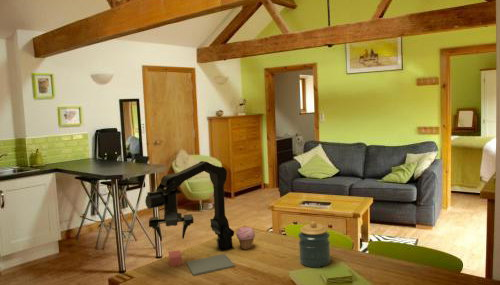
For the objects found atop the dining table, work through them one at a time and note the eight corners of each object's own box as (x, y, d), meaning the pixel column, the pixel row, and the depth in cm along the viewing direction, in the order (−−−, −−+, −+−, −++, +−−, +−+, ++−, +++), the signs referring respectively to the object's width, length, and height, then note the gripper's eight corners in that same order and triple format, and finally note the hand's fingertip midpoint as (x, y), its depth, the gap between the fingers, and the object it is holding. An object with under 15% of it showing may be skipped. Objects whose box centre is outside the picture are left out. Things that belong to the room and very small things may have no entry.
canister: (330, 268, 166) (328, 226, 164) (298, 267, 169) (296, 226, 167) (330, 255, 179) (329, 216, 177) (301, 255, 181) (299, 216, 179)
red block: (180, 258, 187) (179, 250, 187) (182, 265, 180) (181, 256, 179) (169, 260, 186) (168, 251, 186) (170, 267, 178) (169, 258, 178)
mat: (225, 255, 187) (225, 253, 187) (234, 266, 174) (234, 265, 174) (186, 263, 181) (186, 261, 180) (193, 275, 168) (193, 274, 167)
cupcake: (234, 246, 197) (233, 226, 196) (250, 242, 200) (249, 223, 199) (242, 252, 189) (240, 231, 188) (258, 248, 192) (257, 228, 191)
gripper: (147, 210, 167) (149, 248, 168) (193, 207, 171) (195, 243, 172) (148, 204, 178) (150, 239, 179) (191, 201, 181) (193, 235, 183)
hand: (172, 239), depth 178 cm, fingers open, 9 cm apart
